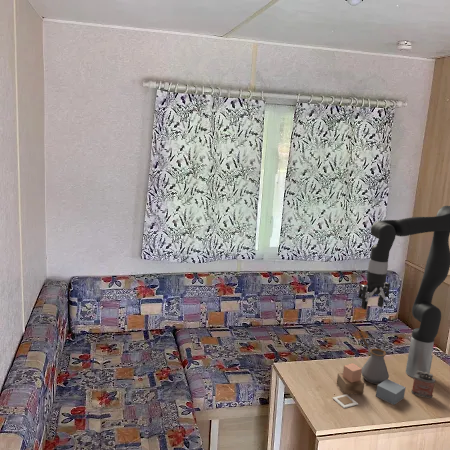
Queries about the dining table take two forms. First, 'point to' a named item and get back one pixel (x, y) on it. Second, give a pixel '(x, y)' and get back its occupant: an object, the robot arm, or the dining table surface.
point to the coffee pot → (375, 365)
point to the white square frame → (345, 401)
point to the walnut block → (349, 385)
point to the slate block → (390, 391)
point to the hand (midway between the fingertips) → (372, 307)
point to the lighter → (423, 384)
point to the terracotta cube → (352, 372)
